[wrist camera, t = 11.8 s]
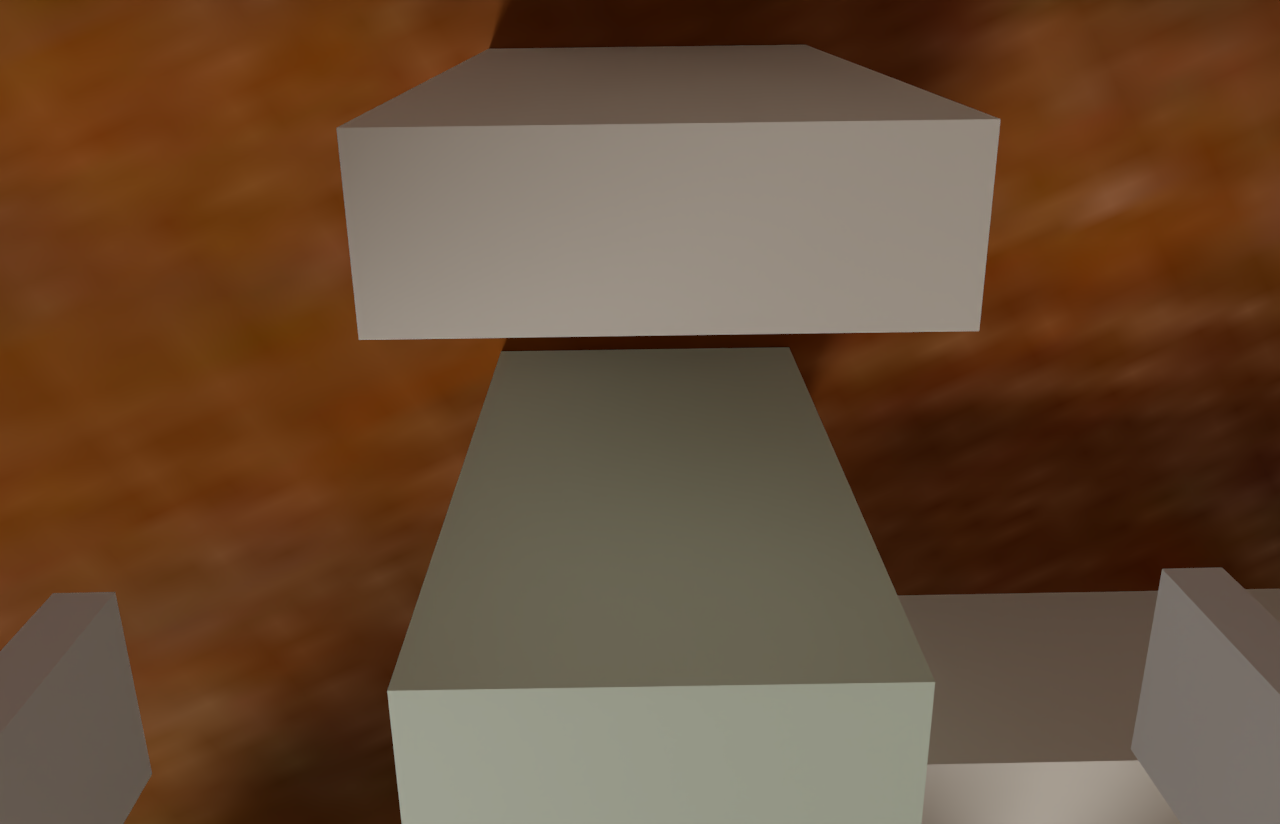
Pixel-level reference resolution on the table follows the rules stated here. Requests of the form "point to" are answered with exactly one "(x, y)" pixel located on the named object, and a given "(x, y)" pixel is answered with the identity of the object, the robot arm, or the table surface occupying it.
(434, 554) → the domino
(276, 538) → the table surface
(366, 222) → the domino
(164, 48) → the table surface
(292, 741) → the table surface
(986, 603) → the domino
